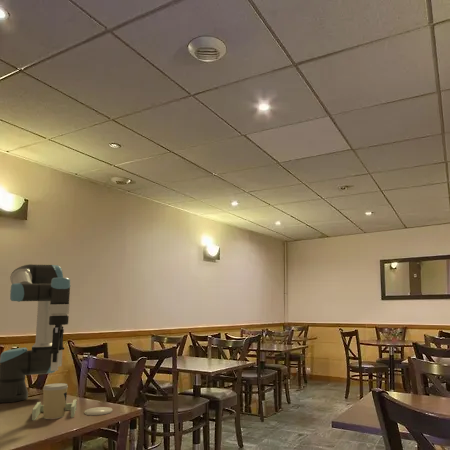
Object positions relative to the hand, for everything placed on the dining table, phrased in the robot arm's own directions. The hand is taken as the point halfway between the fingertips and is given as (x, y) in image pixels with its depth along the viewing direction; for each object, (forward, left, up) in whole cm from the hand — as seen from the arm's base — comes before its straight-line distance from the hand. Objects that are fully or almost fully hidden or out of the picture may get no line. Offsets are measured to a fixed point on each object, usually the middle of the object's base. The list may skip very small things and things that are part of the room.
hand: (56, 368), depth 177 cm
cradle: (-4, 0, -18) cm, 19 cm away
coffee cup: (0, 0, -19) cm, 19 cm away
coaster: (-2, +17, -18) cm, 25 cm away
